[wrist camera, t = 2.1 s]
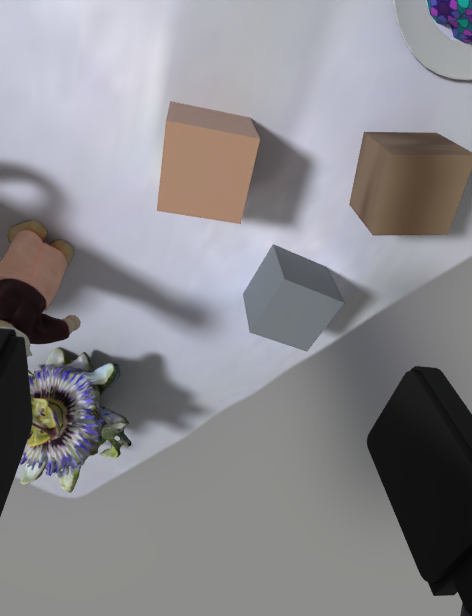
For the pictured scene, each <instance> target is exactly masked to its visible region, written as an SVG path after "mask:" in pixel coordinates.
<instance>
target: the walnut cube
mask: <svg viewBox="0 0 472 616" xmlns="http://www.w3.org/2000/svg"><path fill="white" fill-rule="evenodd" d="M471 170H472V152H470V151H468V150H466V149H465V148H463V147H461V146H459V145H457V144H456V143H454V142H452V141H450V140H448V139H447V138H445V137H443V136H441V135H439V134H438V133H398V132H364V134H363V139H362V144H361V149H360V154H359V159H358V164H357V169H356V174H355V179H354V184H353V189H352V194H351V199H350V204H349V205H350V206H351V207H352V209H353V210H354V211H355V213H356V214H357V215H358V216H359V218H360V219H361V220H362V222H363V223H364V224H365V226H366V227H367V228H368V230H369V231H370V232H371V234H372V235H441V234H448V233H449V230H450V227H451V225H452V222H453V219H454V216H455V214H456V211H457V208H458V205H459V203H460V200H461V197H462V195H463V192H464V189H465V186H466V184H467V181H468V178H469V175H470V173H471Z"/></svg>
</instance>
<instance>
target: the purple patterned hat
mask: <svg viewBox="0 0 472 616" xmlns="http://www.w3.org/2000/svg"><path fill="white" fill-rule="evenodd" d="M427 2H428V7H429V12H430V15H431V16H432V17H433V18H434V20H435V21H436V22H437V23H441V24H451V28H452V32H453V35H454V38H456V39H458V40H460V41H462V42H472V0H427ZM393 3H394V9H395V14H396V19H397V23H398V26H399V29H400V31H401V34H402V36H403V39H404V41H405V43H406V44H407V46H408V47H409V49H410V51H411V52H412V54H413V55H414V56H415V57H416V58H417V59H418V60H419V61H420V62H421V63H422V64H423V65H424V66H425V67H427V68H428V69H430V70H432V71H433V72H435V73H437V74H439V75H442V76H445V77H448V78H451V79H460V80H472V44H463V43H460V42H457V41H454V40H452V39H450V38H449V37H447V36H446V35H444V34H443V33H442V32H441V31H440V30H439V29H438V27H437V26H436V25H435V23H434V22H433V20H432V18H431V16H430V15H429V12H428V9H427V6H426V3H425V0H393Z"/></svg>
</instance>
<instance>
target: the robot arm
mask: <svg viewBox="0 0 472 616" xmlns="http://www.w3.org/2000/svg"><path fill="white" fill-rule="evenodd" d="M32 423H33V414H32V404H31V394H30V385H29V375H28V365H27V355H26V345H25V339H24V337H19V336H16V332H15V330H13V329H5V328H0V516H1V513H2V510H3V508H4V505H5V502H6V499H7V496H8V494H9V491H10V488H11V485H12V482H13V480H14V477H15V474H16V471H17V469H18V466H19V463H20V460H21V457H22V455H23V452H24V449H25V446H26V444H27V441H28V438H29V435H30V432H31V428H32ZM367 446H368V449H369V452H370V454H371V456H372V459H373V461H374V464H375V466H376V469H377V471H378V474H379V476H380V478H381V481H382V483H383V486H384V488H385V490H386V493H387V495H388V497H389V500H390V502H391V505H392V507H393V510H394V512H395V515H396V517H397V519H398V522H399V524H400V527H401V529H402V531H403V534H404V536H405V539H406V541H407V544H408V546H409V548H410V551H411V553H412V556H413V558H414V561H415V563H416V565H417V568H418V570H419V572H420V574H421V576H422V578H423V579H424V580H425V581H427V582H428V583H429V586H430V588H431V591H432V593H433V595H434V596H442V595H455V594H456V593H457V592H458V593H459V595H460V598H461V600H462V602H463V603H462V609H461V615H460V616H472V414H471V413H470V411H469V410H468V409H467V407H466V405H465V404H464V403H463V401H462V400H461V398H460V397H459V395H458V394H457V393H456V391H455V390H454V388H453V387H452V386H451V384H450V383H449V381H448V380H447V378H446V377H445V376H444V374H443V373H442V372H441V370H439V369H437V368H430V367H420V366H415V367H414V368H412V369H411V370H410V371H408V372H406V374H405V375H404V376H403V378H402V380H401V382H400V383H399V385H398V386H397V388H396V390H395V391H394V393H393V395H392V396H391V398H390V400H389V401H388V403H387V405H386V406H385V408H384V410H383V411H382V413H381V415H380V416H379V418H378V420H377V421H376V423H375V425H374V426H373V428H372V429H371V431H370V433H369V435H368V438H367Z"/></svg>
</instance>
